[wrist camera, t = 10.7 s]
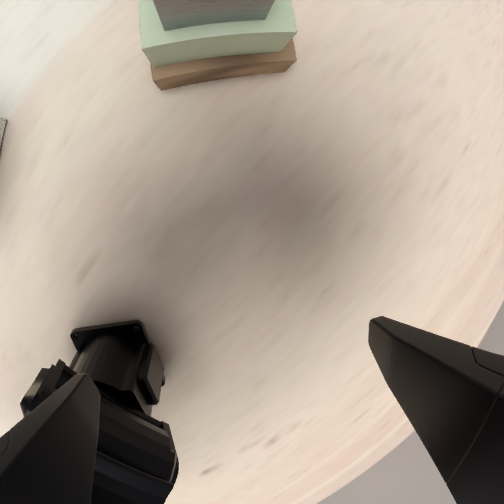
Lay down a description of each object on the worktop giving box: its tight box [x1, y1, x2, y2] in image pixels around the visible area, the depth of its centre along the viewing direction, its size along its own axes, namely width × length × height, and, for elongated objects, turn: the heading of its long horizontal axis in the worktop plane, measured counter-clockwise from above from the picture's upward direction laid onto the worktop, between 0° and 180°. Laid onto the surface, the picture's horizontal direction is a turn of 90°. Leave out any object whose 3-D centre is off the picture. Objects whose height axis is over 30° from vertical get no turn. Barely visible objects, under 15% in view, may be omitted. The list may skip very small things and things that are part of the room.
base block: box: [150, 39, 297, 90], centre depth 15 cm, size 8×8×4 cm
